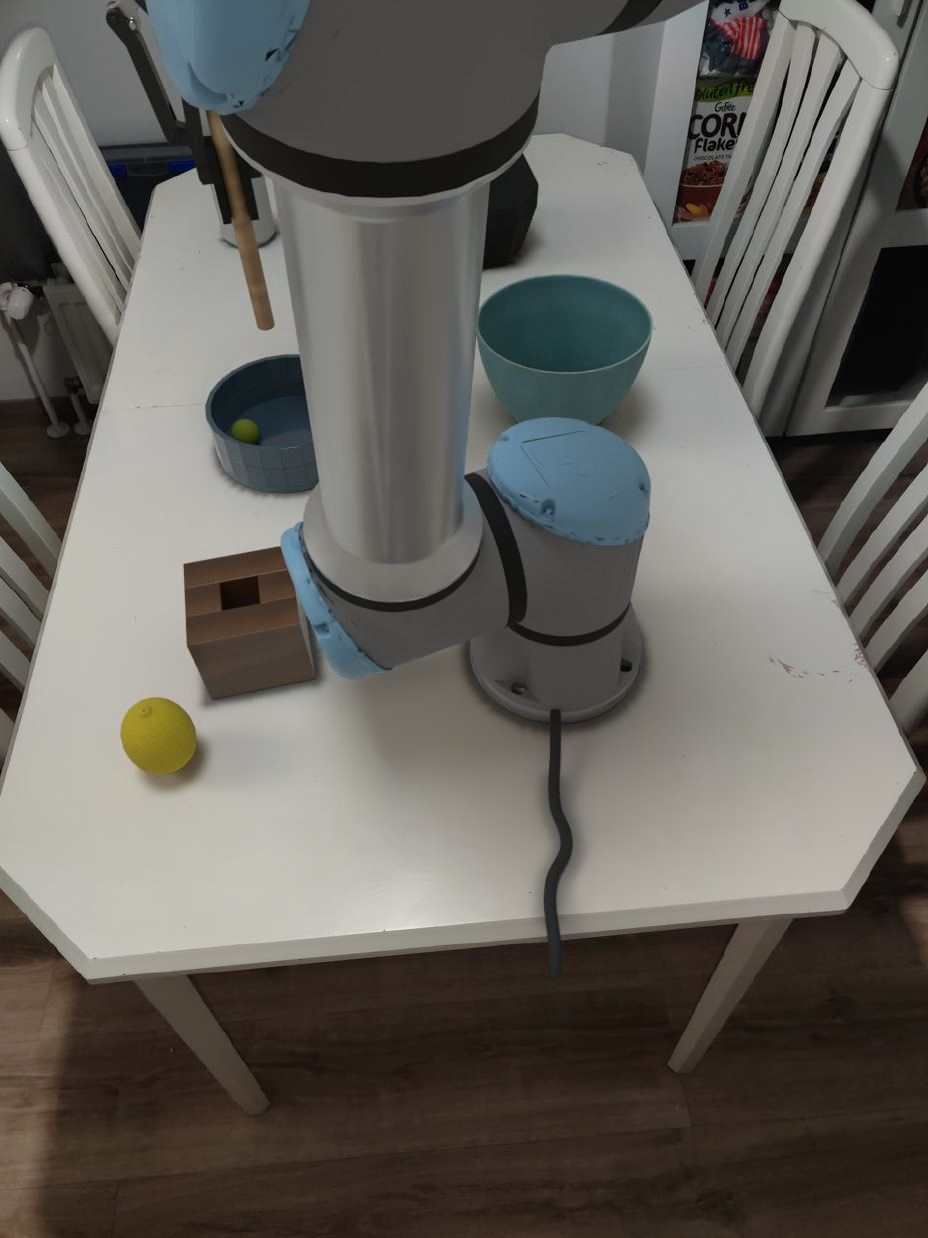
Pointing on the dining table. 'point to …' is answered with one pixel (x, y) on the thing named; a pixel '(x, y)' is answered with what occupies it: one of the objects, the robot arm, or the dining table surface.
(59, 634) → the dining table surface
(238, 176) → the stick
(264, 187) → the can
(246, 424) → the ball
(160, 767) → the lemon
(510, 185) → the bottle
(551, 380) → the deep teal bowl
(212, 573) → the stick holder
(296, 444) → the bowl
